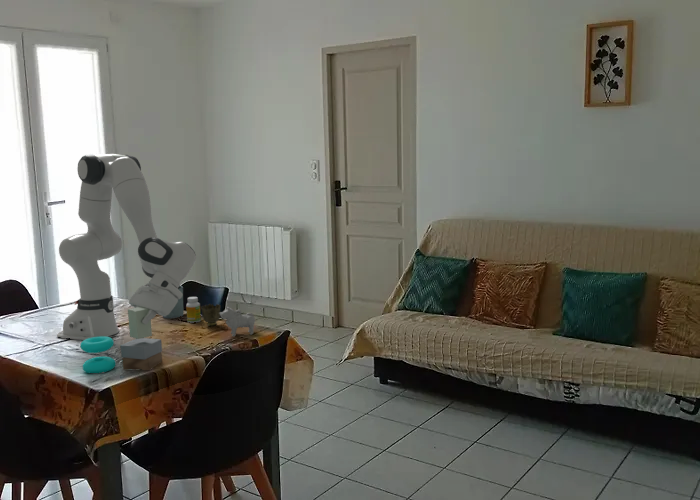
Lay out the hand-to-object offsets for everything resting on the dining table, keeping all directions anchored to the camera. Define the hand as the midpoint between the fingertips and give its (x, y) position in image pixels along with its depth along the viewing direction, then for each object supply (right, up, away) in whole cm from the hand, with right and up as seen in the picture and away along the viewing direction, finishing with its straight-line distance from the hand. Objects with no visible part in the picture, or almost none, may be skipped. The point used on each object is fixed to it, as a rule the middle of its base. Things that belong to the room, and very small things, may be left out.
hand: (138, 321), depth 223 cm
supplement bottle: (+5, -6, +57) cm, 58 cm away
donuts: (-12, -16, 0) cm, 20 cm away
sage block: (+1, -5, +1) cm, 5 cm away
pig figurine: (+27, -8, +36) cm, 46 cm away
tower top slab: (+1, -11, +2) cm, 11 cm away
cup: (+14, -7, +49) cm, 52 cm away
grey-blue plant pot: (-6, -5, +68) cm, 68 cm away
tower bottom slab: (+1, -15, +3) cm, 15 cm away
